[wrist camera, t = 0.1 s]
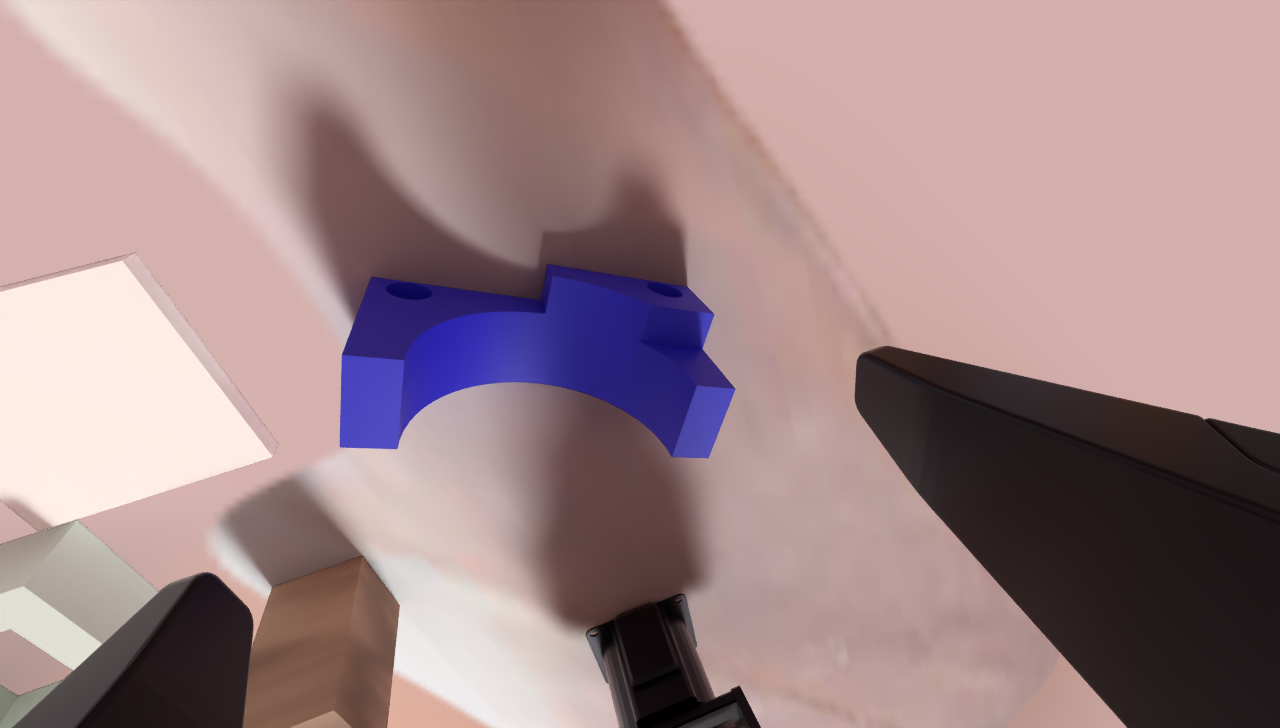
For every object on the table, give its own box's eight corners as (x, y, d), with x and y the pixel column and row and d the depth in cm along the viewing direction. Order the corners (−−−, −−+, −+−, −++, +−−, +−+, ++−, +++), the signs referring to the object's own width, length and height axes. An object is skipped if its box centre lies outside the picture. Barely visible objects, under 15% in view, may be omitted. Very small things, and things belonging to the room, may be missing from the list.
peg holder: (223, 647, 25) (197, 713, 22) (8, 725, 23) (-45, 805, 21) (77, 519, 20) (23, 586, 17) (-205, 609, 19) (-307, 695, 16)
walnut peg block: (399, 605, 27) (383, 758, 21) (317, 635, 26) (277, 801, 20) (362, 555, 25) (333, 710, 19) (272, 587, 24) (213, 757, 18)
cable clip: (686, 285, 23) (750, 350, 18) (657, 376, 25) (708, 458, 20) (373, 234, 18) (343, 302, 13) (368, 349, 20) (339, 447, 15)
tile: (279, 444, 21) (273, 457, 20) (52, 515, 20) (38, 531, 19) (135, 252, 16) (122, 260, 16) (-167, 328, 15) (-195, 341, 15)
